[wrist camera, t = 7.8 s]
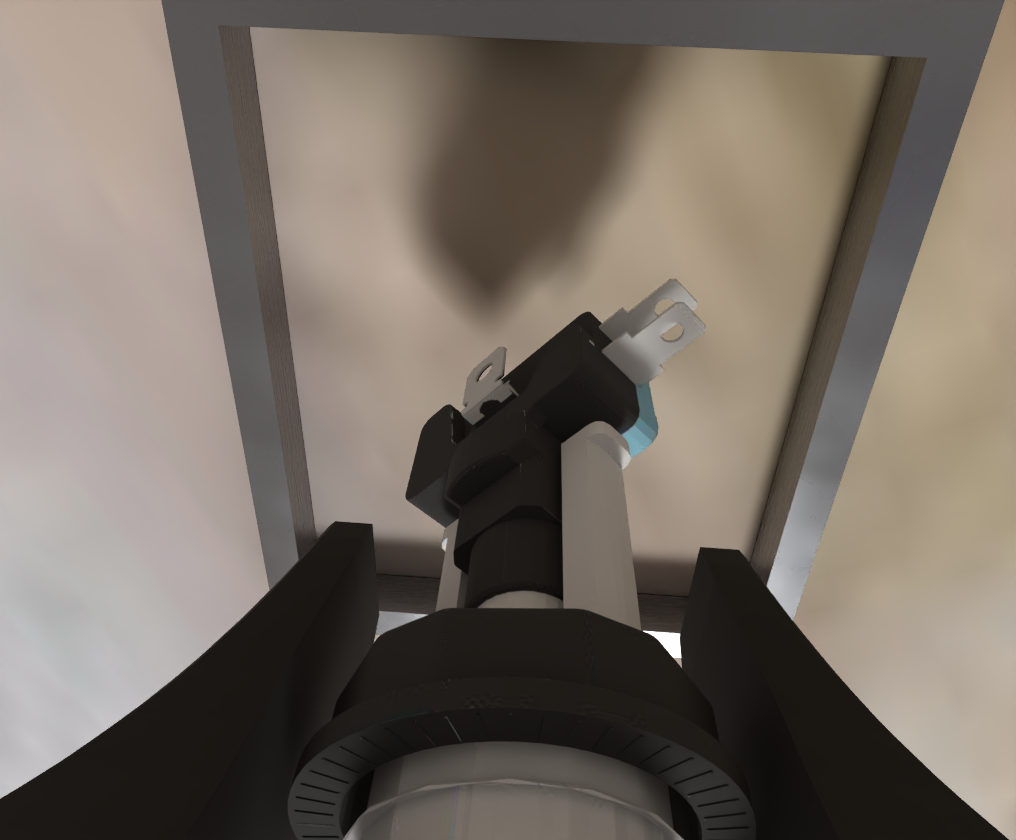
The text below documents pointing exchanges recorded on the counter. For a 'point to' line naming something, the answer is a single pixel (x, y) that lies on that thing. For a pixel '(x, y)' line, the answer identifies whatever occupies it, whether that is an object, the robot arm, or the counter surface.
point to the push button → (531, 628)
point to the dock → (601, 19)
